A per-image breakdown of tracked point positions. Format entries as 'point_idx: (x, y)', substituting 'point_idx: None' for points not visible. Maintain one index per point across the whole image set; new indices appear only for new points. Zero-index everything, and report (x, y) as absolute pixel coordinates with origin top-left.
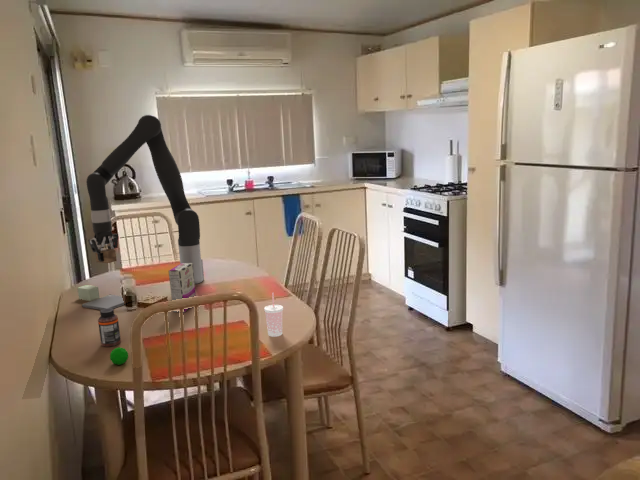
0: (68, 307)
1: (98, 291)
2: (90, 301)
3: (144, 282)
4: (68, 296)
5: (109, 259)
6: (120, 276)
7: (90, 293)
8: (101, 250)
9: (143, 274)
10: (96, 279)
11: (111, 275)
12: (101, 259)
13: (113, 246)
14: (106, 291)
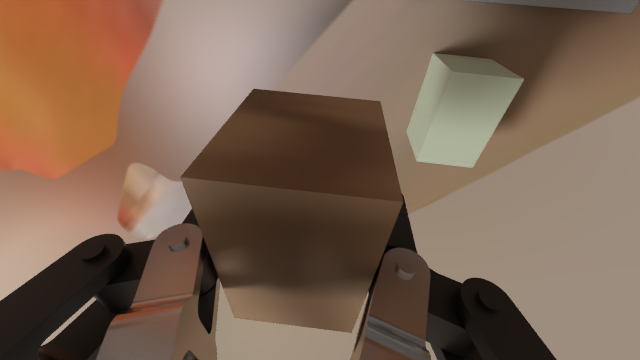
0: (600, 87)
1: (444, 62)
2: (567, 8)
3: (128, 19)
4: (418, 194)
5: (354, 117)
6: (164, 191)
7: (502, 69)
8: (407, 286)
9: (81, 131)
10: None
11: (179, 221)
12: None
13: (135, 274)
14: None
